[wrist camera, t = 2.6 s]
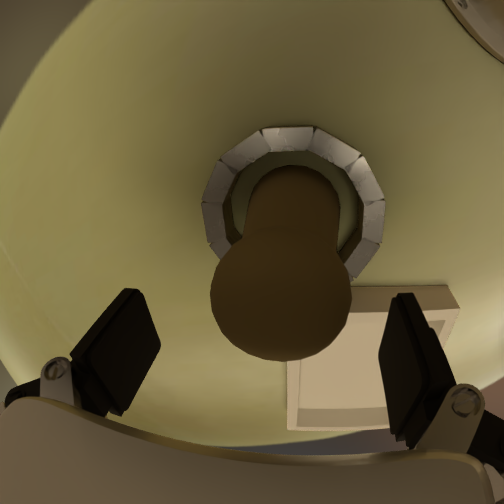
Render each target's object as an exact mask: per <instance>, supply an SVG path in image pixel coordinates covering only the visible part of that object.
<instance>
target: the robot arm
mask: <svg viewBox="0 0 504 504" xmlns="http://www.w3.org/2000/svg"><path fill="white" fill-rule="evenodd" d="M445 2H446V3H447V5H448V6H449V8H450V9H451V10H452V12H453V13H454V14H455V16H456V17H457V19H458V20H459V21H460V22H461V23H462V25H463V26H464V27H465V28H466V29H467V31H468V32H469V33H470V34H471V35H472V36H473V37H474V38H475V39H476V40H477V41H478V42H479V43H480V44H481V45H482V46H483V47H484V48H485V49H486V50H487V51H489V52H490V53H491V54H492V55H493V56H494V57H496V58H497V59H499V60H500V61H501V62H503V63H504V0H445ZM160 347H161V342H160V339H159V337H158V334H157V331H156V329H155V326H154V323H153V321H152V318H151V315H150V312H149V309H148V306H147V304H146V301H145V298H144V295H143V294H142V293H141V292H140V291H139V290H138V289H132V288H125V289H123V290H122V291H121V292H120V294H119V295H118V296H117V297H116V298H115V299H114V301H113V302H112V303H111V304H110V305H109V306H108V307H107V309H106V310H105V311H104V312H103V313H102V315H101V316H100V317H99V318H98V319H97V321H96V322H95V323H94V324H93V325H92V327H91V328H90V329H89V330H88V331H87V333H86V334H85V335H84V336H83V338H82V339H81V340H80V341H79V343H78V344H77V345H76V346H75V348H74V349H73V350H72V351H71V353H70V356H71V357H72V361H71V362H70V361H69V360H68V358H65V357H55V358H53V359H51V360H50V361H48V362H47V363H46V364H45V365H44V367H43V368H42V370H41V378H38V379H36V380H33V381H30V382H27V383H25V384H22V385H19V386H16V387H15V388H13V389H11V390H10V391H9V392H8V394H7V396H6V398H5V403H4V402H1V403H0V504H504V420H502V419H501V418H499V417H497V416H495V415H493V414H492V413H489V412H488V411H486V410H484V408H485V400H484V397H483V395H482V393H481V392H480V391H479V390H478V389H477V388H476V387H474V386H473V385H470V384H458V385H457V384H456V381H455V379H454V376H453V373H452V371H451V368H450V365H449V363H448V360H447V358H446V355H445V353H444V351H443V348H442V346H441V343H440V341H439V339H438V337H437V334H436V332H435V330H434V329H433V328H432V327H429V325H428V322H427V320H426V318H425V316H424V314H423V312H422V309H421V307H420V305H419V303H418V301H417V299H416V297H415V295H414V293H412V292H410V293H398V294H397V295H396V297H393V298H392V299H391V303H390V308H389V312H388V317H387V321H386V325H385V329H384V333H383V336H382V340H381V344H380V347H379V351H378V361H379V366H380V371H381V376H382V382H383V387H384V393H385V399H386V405H387V412H388V419H389V426H390V432H391V434H395V437H396V442H398V441H404V440H405V441H406V446H407V447H408V449H407V450H402V451H391V452H380V453H369V454H356V455H323V456H308V455H307V456H306V455H279V454H266V453H255V452H246V451H238V450H230V449H224V448H217V447H211V446H206V445H201V444H195V443H191V442H186V441H181V440H177V439H173V438H169V437H165V436H161V435H157V434H153V433H150V432H146V431H143V430H139V429H136V428H133V427H130V426H127V425H124V424H121V423H118V422H115V421H112V420H109V419H108V417H107V413H108V411H109V412H110V413H112V414H115V415H118V416H122V414H123V412H124V411H126V410H127V409H128V408H129V406H130V404H131V403H132V401H133V399H134V397H135V395H136V393H137V391H138V389H139V387H140V386H141V384H142V382H143V380H144V378H145V376H146V374H147V372H148V371H149V369H150V367H151V365H152V363H153V361H154V360H155V358H156V356H157V354H158V352H159V350H160Z"/></svg>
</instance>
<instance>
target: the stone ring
mask: <svg viewBox="0 0 504 504" xmlns="http://www.w3.org/2000/svg"><path fill="white" fill-rule="evenodd" d="M274 151H312V152H314V153H315V154H317V155H319V156H321V157H323V158H325V159H326V160H328V161H330V162H332V163H333V164H335V165H337V166H339V167H340V168H342V169H344V170H345V171H346V172H347V174H348V176H349V177H350V179H351V181H352V183H353V185H354V186H355V188H356V190H357V192H358V194H359V199H358V220H357V227H356V229H355V230H354V232H353V233H352V235H351V236H350V238H349V239H348V241H347V242H346V244H345V245H344V246H343V248H342V249H341V251H340V252H339V253H337V254H338V255H339V257H340V259H341V261H342V262H343V264H344V266H345V267H346V269H347V271H348V275H349V280H350V282H351V281H353V277H355V278H357V277H358V275H359V274H360V273H361V272H362V270H363V269H364V268H365V266H366V265H367V264H368V262H369V261H370V260H371V258H372V257H373V256H374V254H375V253H376V252H377V250H378V249H379V247H380V245H379V243H382V235H383V225H384V215H385V202H386V201H385V200H384V194H383V192H382V190H381V188H380V186H379V184H378V182H377V181H376V179H375V177H374V175H373V173H372V171H371V169H370V167H369V165H368V164H367V162H366V160H365V158H364V156H363V155H362V154H360V152H359V151H357V150H356V149H355V148H354V147H352V146H350V145H349V144H347V143H345V142H343V141H342V140H340V139H338V138H336V137H335V136H333V135H331V134H329V133H328V132H326V131H324V130H322V129H320V128H318V127H317V126H316V127H315V129H314V131H313V126H312V125H300V126H275V127H266V128H263V129H261V130H258V131H257V132H255V133H254V134H252V135H251V136H250V137H248V138H247V139H245V140H244V141H242V142H241V143H239V144H238V145H236V146H235V147H234V148H232V149H231V150H229V151H228V152H226V153H225V154H224V155H222V156H221V157H220V159H219V160H217V163H216V165H215V168H214V170H213V172H212V175H211V177H210V180H209V182H208V185H207V187H206V189H205V192H204V194H203V197H202V200H204V201H203V202H202V203H201V205H202V212H203V218H204V224H205V229H206V235H207V241H208V243H211V244H210V245H209V246H210V247H211V249H212V250H213V251H214V252H215V254H216V255H217V256H218V258H219V259H220V260H221V259H222V258H223V256H224V255H225V254H226V253H227V251H228V250H229V249H230V248H231V246H232V245H233V244H235V243H236V242H238V241H239V240H241V239H242V237H241V235H240V234H239V233H238V231H237V230H236V229H235V227H234V223H233V215H232V207H231V199H230V195H231V193H232V190H233V188H234V186H235V184H236V182H237V179H238V177H239V175H240V173H241V171H242V169H243V168H245V167H246V166H248V165H249V164H251V163H252V162H254V161H255V160H257V159H258V158H260V157H261V156H263V155H264V154H266V153H268V152H274Z"/></svg>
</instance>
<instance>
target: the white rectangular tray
mask: <svg viewBox="0 0 504 504" xmlns="http://www.w3.org/2000/svg"><path fill="white" fill-rule="evenodd" d="M410 292H412V293H414V295H415V297H416V299H417V301H418V303H419V305H420V307H421V309H422V312H423V314H424V316H425V318H426V320H427V322H428V325H429V327H432V328H433V329H434V330H435V332H436V334H437V337H438V339H439V341H440V343H441V346H442V348H444V346H445V344H446V342H447V339H448V337H449V335H450V332H451V330H452V328H453V325H454V323H455V321H456V318H457V316H458V313H459V310H460V307H459V305H458V303H457V302H456V300H455V298H454V296H453V295H452V293H451V291H450V289H449V288H448V286H447V285H437V286H391V287H351V293H352V302H351V307H350V311H349V315H348V318H347V322H346V325H345V327H344V328H343V329H342V331H341V332H340V333H339V335H338V336H337V337H336V339H335V340H334V341H333V342H332V343H331V344H330V345H329V346H328V347H327V348H325V349H324V350H322V351H321V352H319V353H318V354H316V355H313V356H311V357H308V358H305V359H302V360H295V361H287V430H304V431H351V430H370V429H383V428H390V426H389V419H388V412H387V405H386V399H385V393H384V387H383V382H382V376H381V371H380V366H379V361H378V351H379V347H380V344H381V340H382V336H383V333H384V329H385V325H386V321H387V317H388V312H389V308H390V303H391V299H392V298H393V297H396V295H397V294H398V293H410Z"/></svg>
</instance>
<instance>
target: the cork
mask: <svg viewBox="0 0 504 504" xmlns="http://www.w3.org/2000/svg"><path fill="white" fill-rule="evenodd" d="M339 219H340V203H339V198H338V194H337V192H336V190H335V189H334V187H333V185H332V184H331V182H330V181H329V180H328V179H327V178H325V177H324V176H323V175H322V174H321V173H320V172H318V171H316V170H313V169H311V168H308V167H306V166H297V165H287V166H283V167H279V168H275V169H273V170H272V171H270V172H269V173H267V174H266V175H264V176H263V177H262V178H261V179H260V180H259V182H258V183H257V184H256V185H255V187H254V189H253V191H252V194H251V197H250V200H249V205H248V210H247V215H246V221H245V226H244V231H243V236H242V239H241V240H239V241H238V242H236V243H235V244H233V245H232V246H231V248H230V249H229V250H228V251H227V253H226V254H225V255H224V256H223V258H222V259H221V260H220V262H219V264H218V265H217V267H216V270H215V273H214V277H213V280H212V283H211V291H210V298H211V307H212V312H213V315H214V317H215V320H216V322H217V324H218V326H219V328H220V330H221V332H222V333H223V334H224V335H225V336H226V338H227V339H228V340H229V341H230V342H231V343H232V344H233V345H235V346H236V347H238V348H239V349H241V350H243V351H244V352H246V353H248V354H250V355H253V356H256V357H259V358H262V359H265V360H272V361H281V362H285V361H295V360H302V359H305V358H308V357H311V356H313V355H316V354H318V353H319V352H321V351H322V350H324V349H325V348H327V347H328V346H329V345H330V344H331V343H332V342H333V341H334V340H335V339H336V337H337V336H338V335H339V333H340V332H341V331H342V329H343V328H344V327H345V325H346V322H347V318H348V315H349V311H350V307H351V302H352V293H351V286H350V280H349V275H348V271H347V269H346V267H345V266H344V264H343V262H342V261H341V259H340V257H339V255H338V254H337V253H336V250H337V241H338V230H339Z"/></svg>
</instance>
